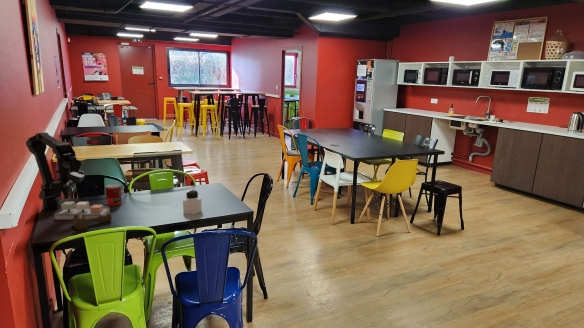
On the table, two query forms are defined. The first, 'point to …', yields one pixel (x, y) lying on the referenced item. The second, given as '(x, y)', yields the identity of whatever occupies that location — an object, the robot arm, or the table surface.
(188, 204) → the medicine bottle
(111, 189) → the canned food
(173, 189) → the table surface
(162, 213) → the table surface
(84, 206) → the key white
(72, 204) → the key sage
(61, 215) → the keypad base
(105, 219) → the kendama
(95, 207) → the key terracotta
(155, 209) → the table surface
